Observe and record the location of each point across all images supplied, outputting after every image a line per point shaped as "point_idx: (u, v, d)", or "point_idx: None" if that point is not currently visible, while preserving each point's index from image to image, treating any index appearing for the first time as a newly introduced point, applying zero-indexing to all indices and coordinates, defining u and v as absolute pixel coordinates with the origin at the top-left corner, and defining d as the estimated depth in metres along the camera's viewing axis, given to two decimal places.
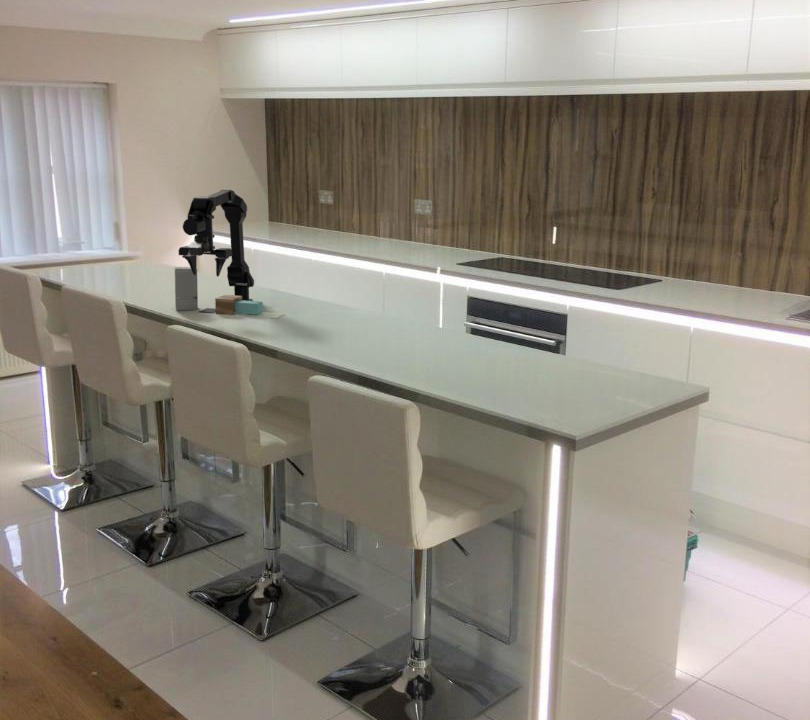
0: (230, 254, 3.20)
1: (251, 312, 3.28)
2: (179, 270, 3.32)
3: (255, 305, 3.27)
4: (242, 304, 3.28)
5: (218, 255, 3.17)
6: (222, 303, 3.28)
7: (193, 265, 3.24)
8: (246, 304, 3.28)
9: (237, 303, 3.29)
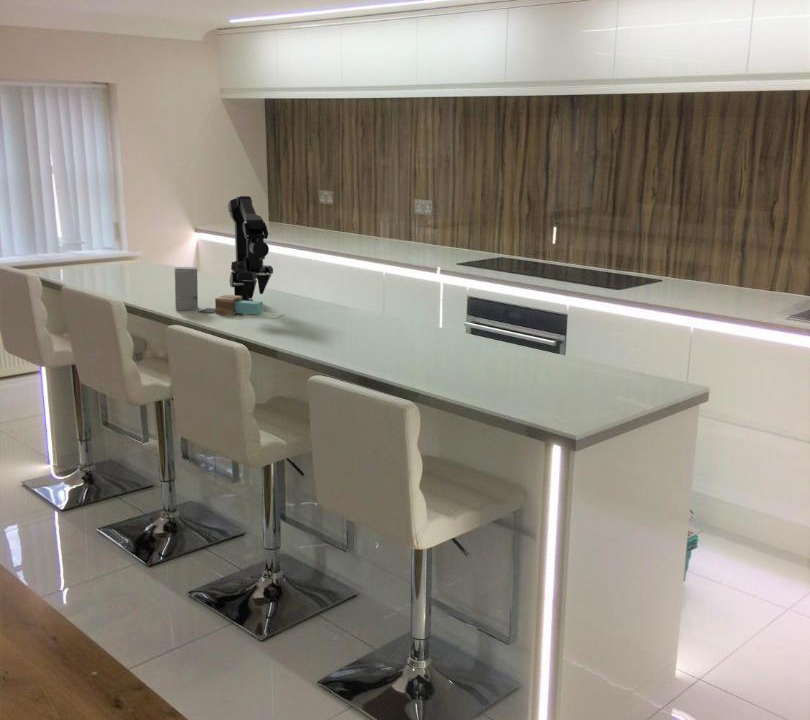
0: (247, 278, 3.17)
1: (251, 312, 3.28)
2: (179, 270, 3.32)
3: (255, 305, 3.27)
4: (242, 304, 3.28)
5: None
6: (222, 303, 3.28)
7: (259, 284, 3.32)
8: (246, 304, 3.28)
9: (237, 303, 3.29)
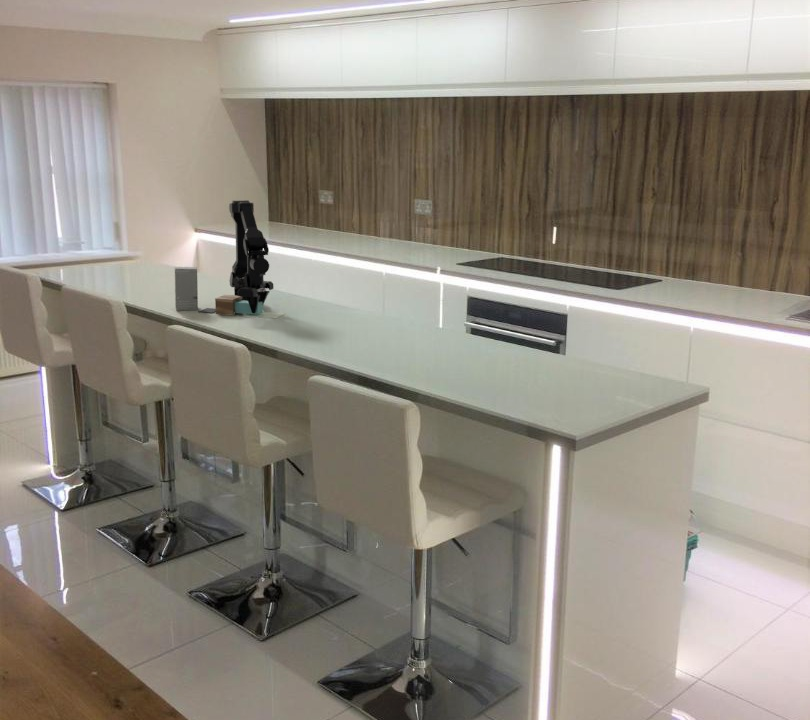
0: (247, 295, 3.19)
1: (251, 312, 3.28)
2: (179, 270, 3.32)
3: None
4: (242, 304, 3.28)
5: None
6: (222, 303, 3.28)
7: None
8: (246, 304, 3.28)
9: (237, 303, 3.29)
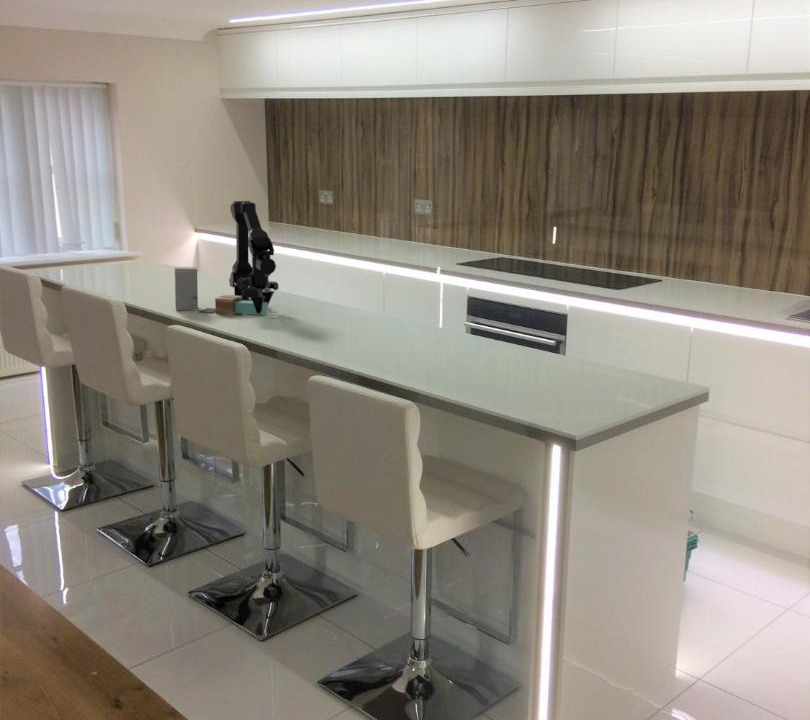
0: (252, 295, 3.18)
1: (256, 312, 3.28)
2: (179, 270, 3.32)
3: None
4: (247, 304, 3.28)
5: None
6: (222, 303, 3.28)
7: None
8: (251, 304, 3.27)
9: (242, 303, 3.28)
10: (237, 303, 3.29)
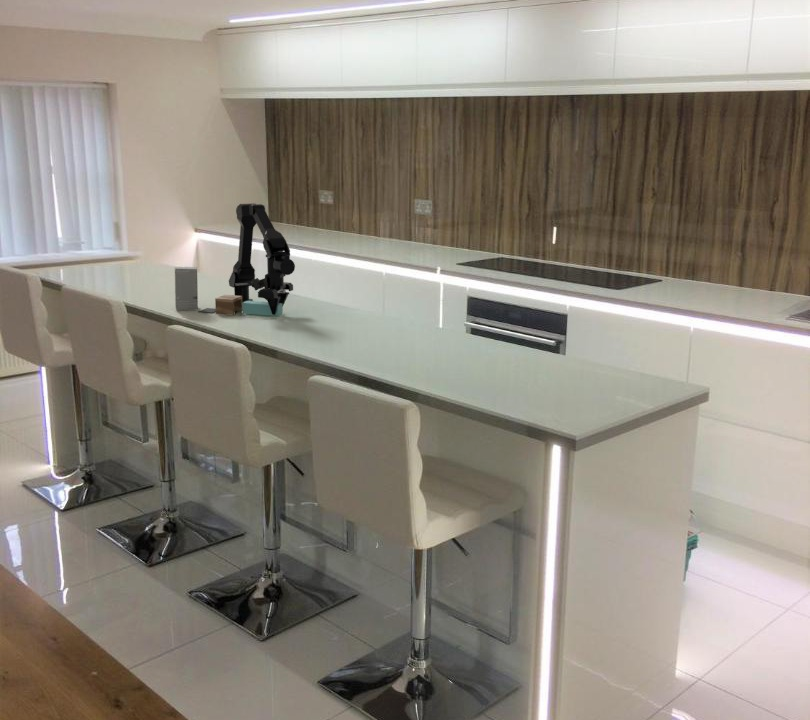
0: (268, 296, 3.17)
1: (271, 314, 3.26)
2: (179, 270, 3.32)
3: None
4: (262, 305, 3.26)
5: None
6: (222, 303, 3.28)
7: None
8: (266, 305, 3.26)
9: (257, 304, 3.27)
10: (252, 304, 3.27)
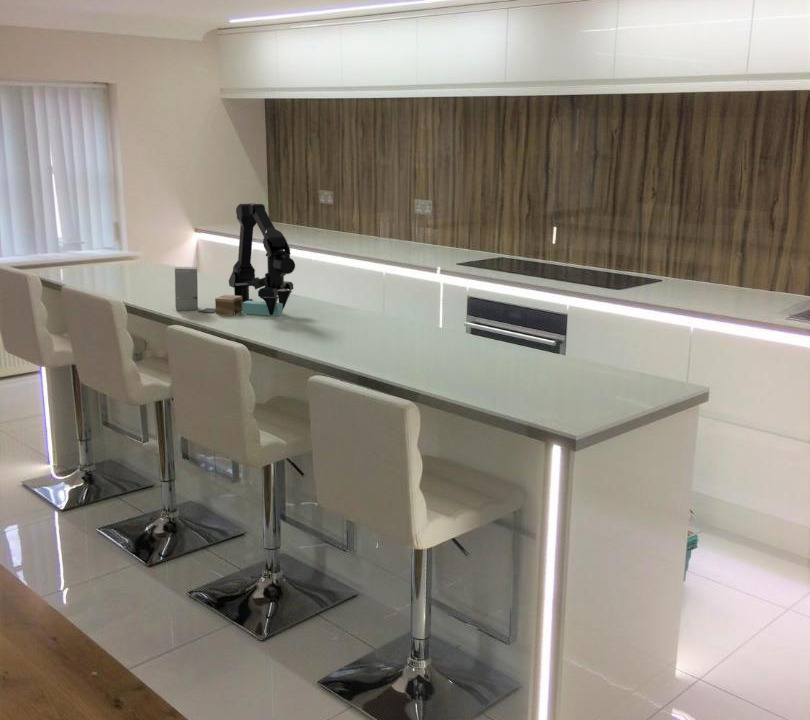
0: (268, 295, 3.17)
1: None
2: (179, 270, 3.32)
3: (275, 306, 3.25)
4: (262, 305, 3.26)
5: None
6: (222, 303, 3.28)
7: (280, 300, 3.31)
8: (266, 305, 3.26)
9: (257, 304, 3.27)
10: (252, 304, 3.27)
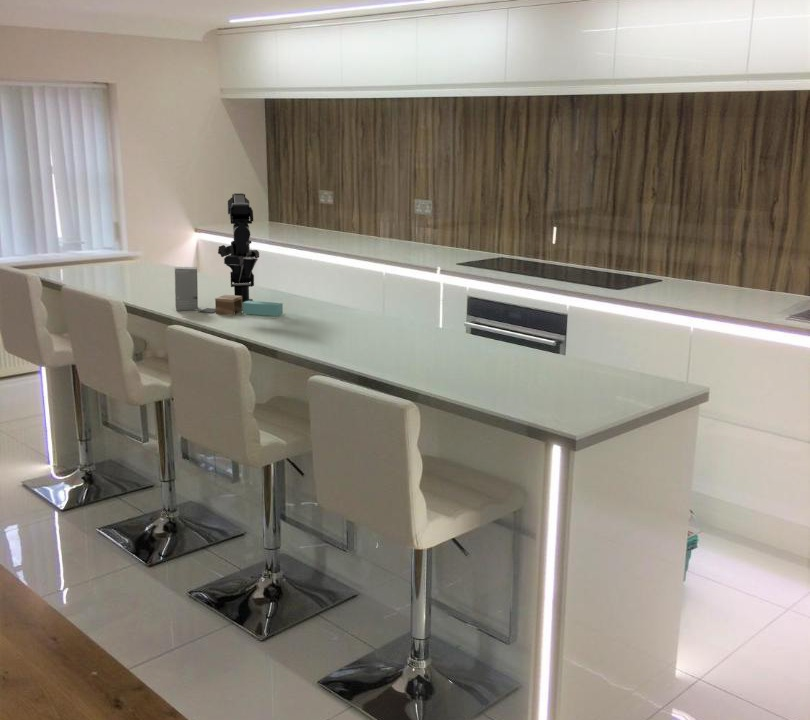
0: (234, 262, 3.23)
1: (271, 314, 3.26)
2: (179, 270, 3.32)
3: (275, 306, 3.25)
4: (262, 305, 3.26)
5: None
6: (222, 303, 3.28)
7: (246, 268, 3.38)
8: (266, 305, 3.26)
9: (257, 304, 3.27)
10: (252, 304, 3.27)
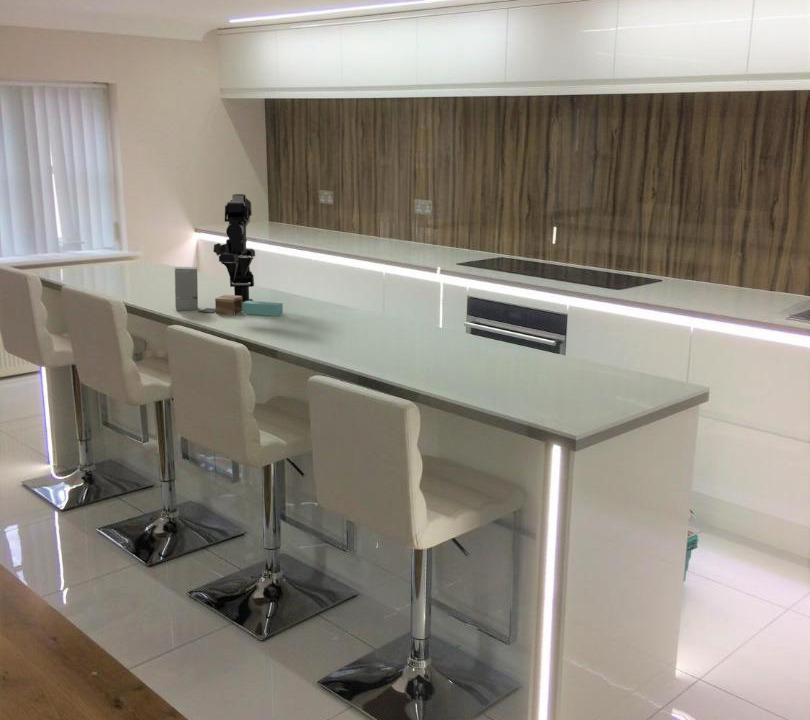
0: (228, 260, 3.24)
1: (271, 314, 3.26)
2: (179, 270, 3.32)
3: (275, 306, 3.25)
4: (262, 305, 3.26)
5: None
6: (222, 303, 3.28)
7: (242, 267, 3.39)
8: (266, 305, 3.26)
9: (257, 304, 3.27)
10: (252, 304, 3.27)
